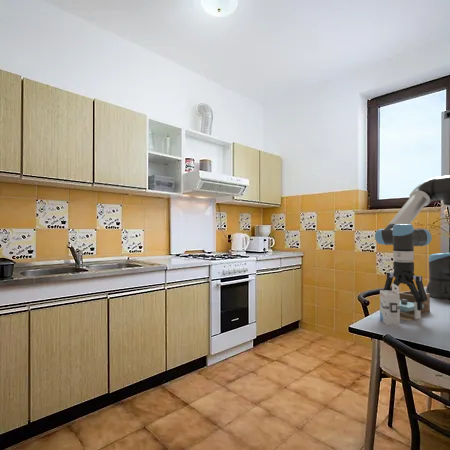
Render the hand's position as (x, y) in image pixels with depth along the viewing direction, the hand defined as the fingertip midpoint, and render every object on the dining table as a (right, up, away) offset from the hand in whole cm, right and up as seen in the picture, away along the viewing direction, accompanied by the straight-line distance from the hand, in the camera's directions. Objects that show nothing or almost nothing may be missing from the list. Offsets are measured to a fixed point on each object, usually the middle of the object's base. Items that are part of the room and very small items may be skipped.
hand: (404, 314), depth 128 cm
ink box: (-10, -1, -8) cm, 13 cm away
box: (+9, -1, +8) cm, 12 cm away
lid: (0, +2, 0) cm, 2 cm away
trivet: (0, -1, 0) cm, 1 cm away
